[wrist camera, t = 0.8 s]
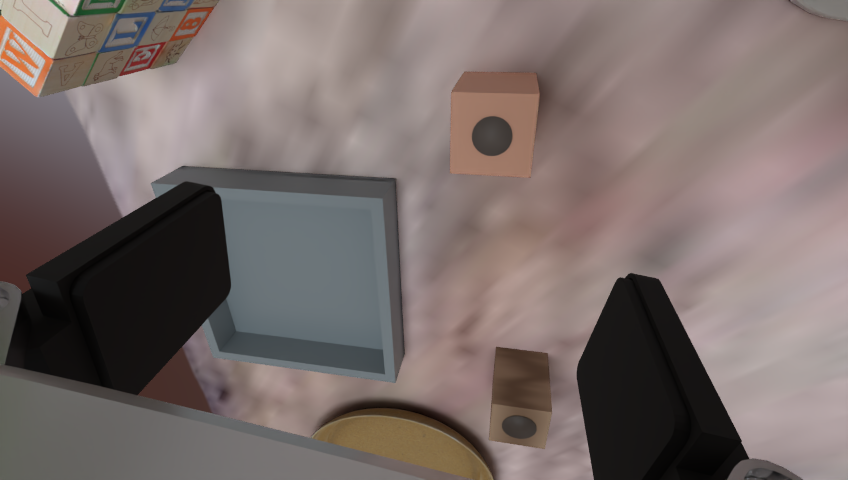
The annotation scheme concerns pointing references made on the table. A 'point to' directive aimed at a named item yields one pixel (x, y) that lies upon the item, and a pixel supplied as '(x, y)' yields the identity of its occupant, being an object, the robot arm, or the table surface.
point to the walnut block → (520, 398)
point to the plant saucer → (406, 440)
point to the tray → (307, 271)
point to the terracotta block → (494, 123)
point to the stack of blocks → (93, 39)
